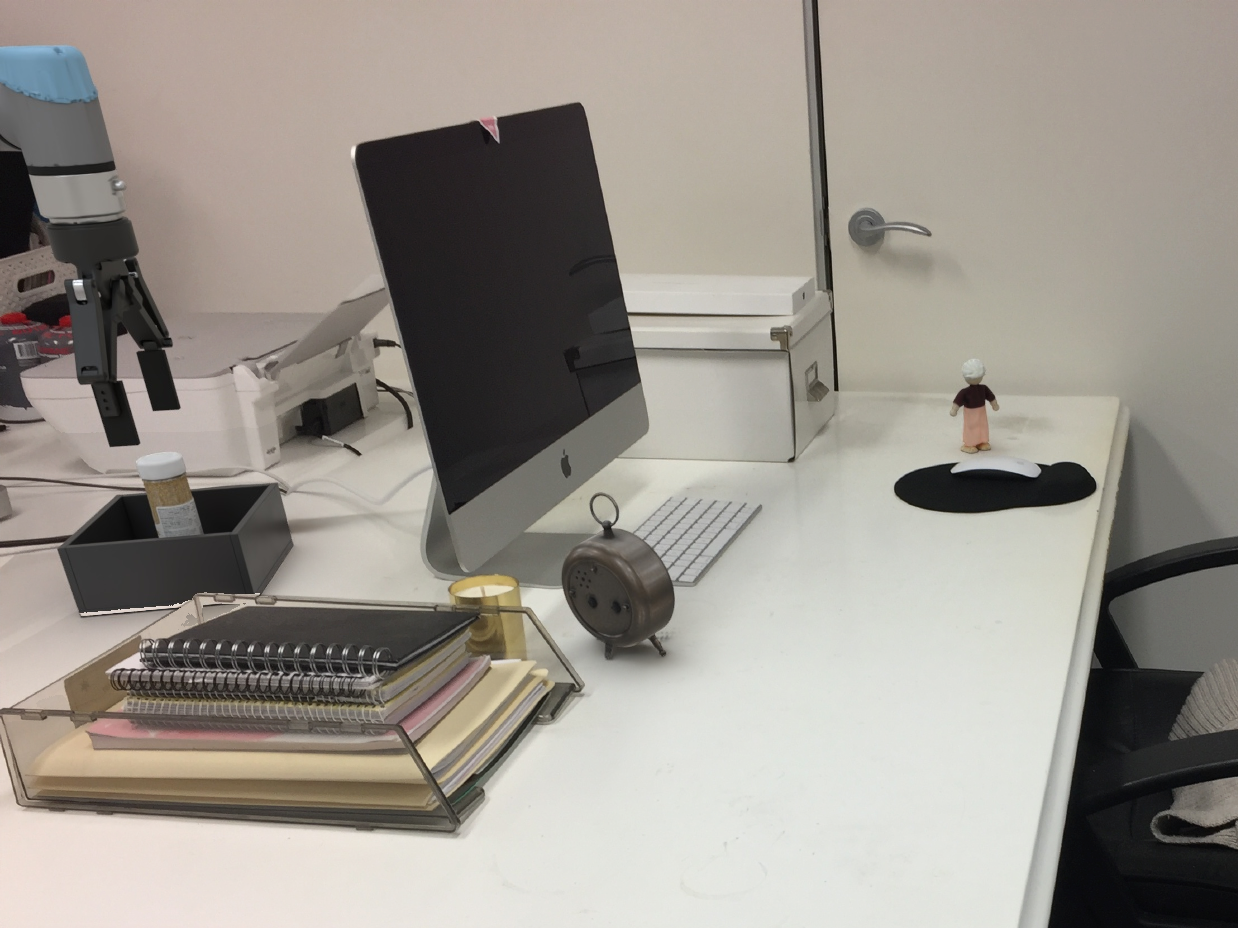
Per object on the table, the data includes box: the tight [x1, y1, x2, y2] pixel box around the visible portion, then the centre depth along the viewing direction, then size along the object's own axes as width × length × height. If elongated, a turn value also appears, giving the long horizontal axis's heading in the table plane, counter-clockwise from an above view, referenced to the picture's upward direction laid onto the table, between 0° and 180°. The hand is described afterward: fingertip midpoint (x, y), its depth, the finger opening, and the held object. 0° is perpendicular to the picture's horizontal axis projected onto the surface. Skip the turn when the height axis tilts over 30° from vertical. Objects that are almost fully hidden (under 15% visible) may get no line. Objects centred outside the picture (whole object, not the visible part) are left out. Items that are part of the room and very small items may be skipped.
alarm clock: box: [561, 491, 676, 660], centre depth 124 cm, size 11×5×16 cm, turn 59°
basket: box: [56, 482, 295, 614], centre depth 146 cm, size 18×18×8 cm
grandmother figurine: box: [949, 358, 1000, 454], centre depth 181 cm, size 8×4×13 cm, turn 130°
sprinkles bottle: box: [135, 451, 204, 538], centre depth 144 cm, size 5×5×14 cm
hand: (147, 427), depth 140 cm, fingers open, 13 cm apart
